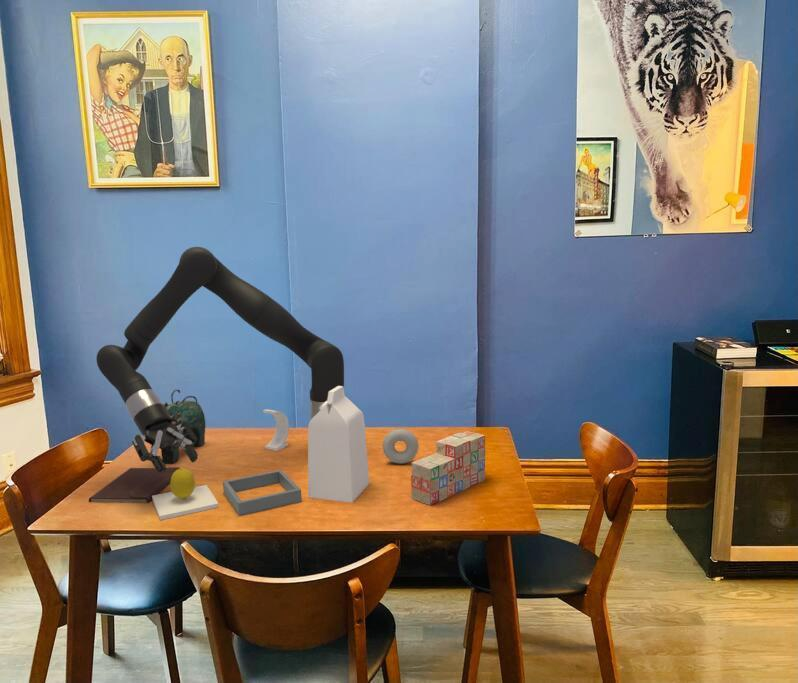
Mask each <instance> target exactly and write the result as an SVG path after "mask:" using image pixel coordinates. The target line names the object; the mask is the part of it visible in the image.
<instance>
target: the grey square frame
mask: <svg viewBox="0 0 798 683" xmlns="http://www.w3.org/2000/svg"><path fill="white" fill-rule="evenodd" d="M275 484H280V485H281V486H282V487H283V489H285V491H281V492H280V491H279V492H276V493H271V494H267V495H263V496H257V497H253V498H249V499H244V500H242V499H241V498H240V496H239V495H238V494H237V493H238V492H241V491H247V490H251V489H257V488H260V487H265V486H269V485H275ZM222 490H223V494H224V495H225V497H226V499H227V500H228V502H229V503H230V505H231V506H232V507H233V509H234V510H235V512H236V514H237V515H238V516H239V517H240V516H245V515H248V514H253V513H257V512H261V511H266V510H267V511H268V510H270V509H275V508H279V507H283V506H284V507H285V506H287V505H292V504H296V503H301V502H302V501H303V500H302V497H303V496H302V489H301V488H300V487H299V486H298V485H297V484H296V483H295V482H294V481H293V479H291V477H289V476H288V475H287V474H286V473H285V472H284V471H283V470H282V469H278V470H273V471H268V472H262V473H258V474H252V475H248V476H244V477H238V478H233V479H228V480H223V481H222Z"/></svg>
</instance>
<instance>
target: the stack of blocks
mask: <svg viewBox="0 0 798 683" xmlns="http://www.w3.org/2000/svg"><path fill="white" fill-rule="evenodd" d="M485 480H486V435H485V434H481V433H477V432H474V431H469V430H464V431H462V432H457V433H454V434H452V435H450V436H447V437H444V438H441V439H440V440H437V441H436V442H435V453H433V454H430V455H428V456H425V457H422V458H420V459H417V460H415V461H413V462H412V461H411V475H410V482H411V485H410V486H411V499H412V500H414V501H418V502H420V503H422V504H425V505H428V506H432V505H435V504H436V503H438V502H441V501H443V500H445V499H447V498H450V497H452V496H454V495H456V494H458V493H460V492H462V491H464V490H466V489H469V488H471V487H473V486H475V485H478V484H479V483H482V482H484V481H485Z"/></svg>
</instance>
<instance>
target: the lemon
mask: <svg viewBox="0 0 798 683" xmlns="http://www.w3.org/2000/svg"><path fill="white" fill-rule="evenodd" d="M180 467H181V466H180ZM169 485H170V492H172V493H173V494H174V495H175V496H176V497H178V498H181V499H183V500H184V499H186V498H187V497H188V496H190V495H191V494H192V492H193V491H194V487H196V480H195V477H194V474H193V472H192V471H191V470H189V469H188V468H184V467H181V468H180V469H178V470H176V471H175V472H174V473H173V475H172V477H171V481H170V484H169Z"/></svg>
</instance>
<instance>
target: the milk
mask: <svg viewBox="0 0 798 683" xmlns="http://www.w3.org/2000/svg"><path fill="white" fill-rule="evenodd" d="M344 389H345V387H344V388H343V386H337V387H336V388H334V389H332V390H331V391H329V393H328V399H327V401H326V402H324V403H323V404H322V405H321V406H320V408H319V409H320V411H319V412H318V413H317V414H316V415H315V416H314V417H313V418H312V419H311V418H310V421H309V422H308V426H307V427H308V428H307V429H308V430H307V431H308V432H307V433H308V434H307V435H308V436H307V438H308V439H307V441H308V442H307V447H308V448H307V457H308V458H307V460H308V461H307V462H308V463H307V471H308V472H307V476H308V477H307V487H308V488H307V498H310V499H317V500H318V499H319V500H327V501H328V500H329V501H336V502H343V503H353V502H355V500H356V499H357V498H358V497H359V496H360V495H361V494H362V492H363V491H364V490H365V489H366V488H367V487H368V486H369V484H370V476H369V475H370V474H369V461H368V450H367V436H366V425H365V416H364V413H363V412H362V410H360V409H359V407H357V405H355V403H353V402H352V400H350V399H349V398H348V397H347V396H346V394H345V390H344Z"/></svg>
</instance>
